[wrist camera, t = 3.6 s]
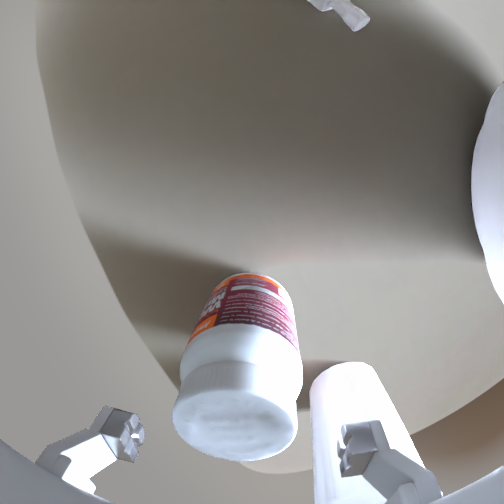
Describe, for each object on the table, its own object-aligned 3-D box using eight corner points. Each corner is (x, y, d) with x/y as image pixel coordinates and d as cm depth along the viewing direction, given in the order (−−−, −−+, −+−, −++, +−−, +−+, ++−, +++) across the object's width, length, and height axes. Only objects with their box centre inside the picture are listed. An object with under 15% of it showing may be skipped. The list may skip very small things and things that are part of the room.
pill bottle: (216, 262, 19) (156, 357, 9) (302, 279, 19) (333, 391, 8) (204, 334, 21) (159, 449, 10) (281, 350, 21) (285, 472, 10)
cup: (375, 408, 22) (413, 525, 9) (296, 417, 23) (303, 549, 9) (392, 344, 20) (468, 476, 7) (300, 353, 21) (320, 520, 7)
